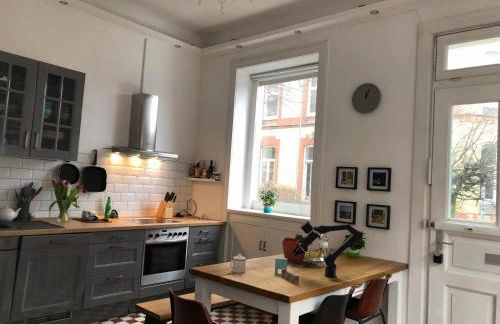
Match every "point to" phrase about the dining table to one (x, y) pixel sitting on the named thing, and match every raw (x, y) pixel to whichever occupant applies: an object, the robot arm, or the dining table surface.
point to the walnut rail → (290, 276)
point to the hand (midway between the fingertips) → (293, 254)
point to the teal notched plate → (280, 264)
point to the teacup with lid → (238, 264)
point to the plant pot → (288, 247)
